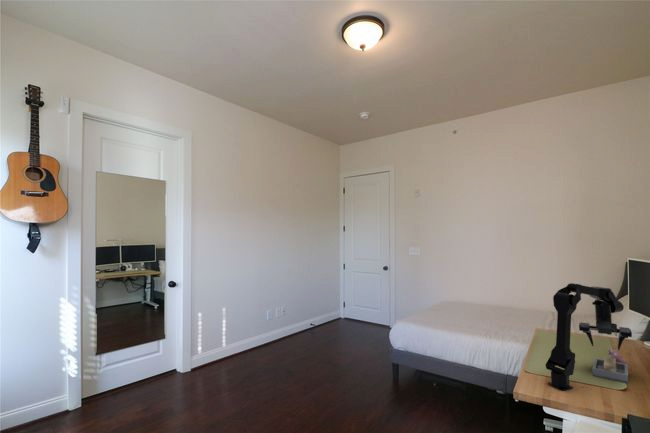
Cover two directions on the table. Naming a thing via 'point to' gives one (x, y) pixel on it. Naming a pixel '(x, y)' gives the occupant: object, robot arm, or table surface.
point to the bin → (619, 375)
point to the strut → (610, 364)
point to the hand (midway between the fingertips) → (605, 348)
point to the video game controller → (616, 356)
